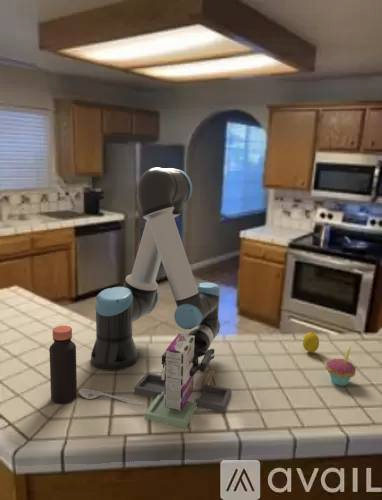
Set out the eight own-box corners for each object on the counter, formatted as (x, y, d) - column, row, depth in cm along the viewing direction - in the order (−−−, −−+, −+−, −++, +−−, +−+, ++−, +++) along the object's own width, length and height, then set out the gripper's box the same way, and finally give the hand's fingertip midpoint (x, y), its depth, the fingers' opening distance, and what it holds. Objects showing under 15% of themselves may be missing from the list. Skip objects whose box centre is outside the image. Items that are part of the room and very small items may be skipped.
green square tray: (144, 418, 101) (144, 413, 101) (160, 396, 111) (160, 391, 111) (185, 428, 98) (185, 422, 97) (198, 404, 108) (198, 399, 108)
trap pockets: (133, 393, 112) (134, 387, 112) (146, 378, 120) (146, 372, 120) (223, 412, 105) (224, 406, 104) (230, 395, 113) (231, 388, 113)
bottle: (62, 407, 104) (60, 336, 101) (45, 399, 108) (43, 330, 104) (82, 395, 110) (81, 328, 106) (65, 388, 114) (63, 322, 110)
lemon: (299, 349, 145) (301, 328, 143) (314, 349, 145) (316, 328, 144) (305, 356, 139) (307, 335, 138) (320, 356, 140) (322, 335, 138)
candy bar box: (176, 386, 113) (178, 332, 110) (193, 389, 112) (196, 335, 109) (163, 408, 103) (164, 349, 99) (181, 412, 101) (183, 352, 98)
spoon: (82, 391, 113) (82, 386, 113) (151, 401, 109) (151, 396, 109) (75, 399, 109) (75, 393, 109) (147, 410, 105) (147, 404, 105)
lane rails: (170, 383, 118) (170, 378, 118) (180, 368, 127) (180, 364, 127) (205, 390, 115) (205, 385, 115) (213, 375, 124) (213, 370, 124)
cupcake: (353, 378, 125) (357, 342, 123) (354, 391, 117) (359, 353, 115) (324, 373, 128) (328, 338, 126) (324, 385, 120) (328, 348, 118)
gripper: (226, 357, 121) (207, 397, 99) (170, 347, 126) (140, 383, 104) (227, 334, 119) (208, 369, 97) (171, 325, 124) (140, 357, 102)
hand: (173, 376), depth 100 cm, fingers closed on candy bar box, 5 cm apart
